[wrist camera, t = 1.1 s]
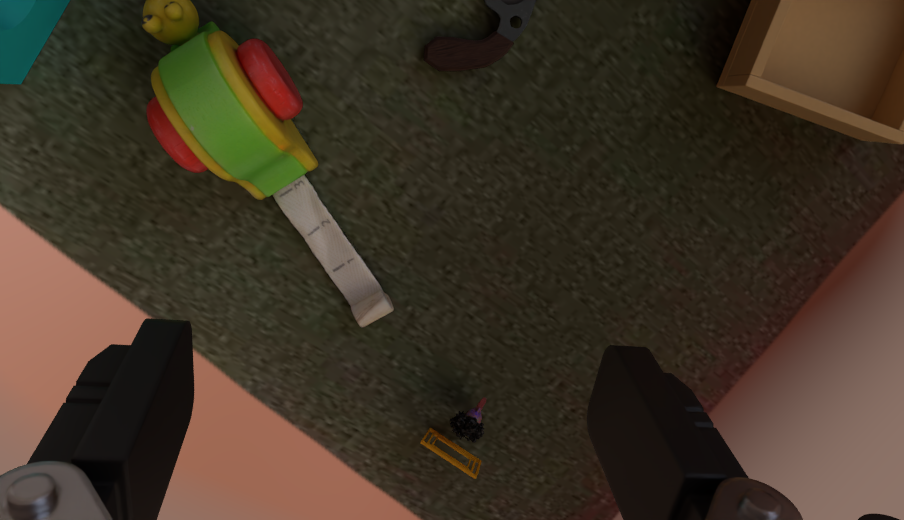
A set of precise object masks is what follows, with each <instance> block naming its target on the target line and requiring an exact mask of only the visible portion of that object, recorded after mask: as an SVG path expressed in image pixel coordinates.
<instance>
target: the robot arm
mask: <svg viewBox="0 0 904 520" xmlns="http://www.w3.org/2000/svg"><path fill="white" fill-rule="evenodd" d="M193 371H194V370H193V347H192V328H191V324H190V322H189V321H183V320H165V319H145V320H144V322H143V323H142V325H141V327H140V329H139V331H138V333H137V335H136V337H135V338H134V340H133V342H132V344H131V345H114V344H113V345H110V346H109V347H107V348H106V349H105V350H103V351H102V352H100V353H99V354H98V355H96V356H95V357H94V358H93V359H91V360H90V361H88V363H87V365H86V366H85V368H84V370H83V371H82V373H81V375H80V376H79V378H78V380H77V381H76V386H73V388H72V390H71V391H70V393H69V395H68V396H67V398H66V403H63V405H62V406H61V408H60V410H59V411H58V413H57V415H56V416H55V418H54V420H53V421H52V423H51V425H50V426H49V428H48V430H47V431H46V433H45V435H44V436H43V438H42V440H41V441H40V443H39V445H38V446H37V448H36V450H35V451H34V453H33V455H32V456H31V458H30V460H29V461H28V463H27V464H26V465H23V466H20V467H17V468H15V469H13V470H10V471H8V472H7V473H5V474H3V475H1V476H0V520H157V517H158V514H159V511H160V508H161V505H162V502H163V499H164V496H165V494H166V490H167V488H168V485H169V481H170V479H171V476H172V473H173V470H174V467H175V464H176V461H177V458H178V455H179V452H180V449H181V446H182V443H183V440H184V438H185V434H186V431H187V429H188V426H189V422H190V419H191V415H192V409H193V402H194V373H193ZM587 425H588V432H589V436H590V439H591V441H592V444H593V446H594V449H595V451H596V453H597V456H598V458H599V461H600V463H601V466H602V468H603V471H604V473H605V476H606V478H607V481H608V483H609V485H610V488H611V490H612V493H613V495H614V498H615V500H616V503H617V505H618V508H619V510H620V512H621V515H622V517H623V519H624V520H803V519H802V516H801V514H800V512H799V511H798V509H797V508H796V507H795V506H794V504H793V503H792V502H791V501H790V500H789V499H788V498H787V497H785V496H784V495H783V494H782V493H780V492H779V491H777V490H775V489H774V488H772V487H770V486H769V485H767V484H764V483H762V482H759V481H757V480H753V479H749V478H748V476H747V475H746V473H745V472H744V471H743V469H742V467H741V466H740V464H739V463H738V461H737V459H736V458H735V457H734V455H733V453H732V452H731V450H730V449H729V447H728V446H727V444H726V443H725V441H724V439H723V438H722V437H721V435H720V433H719V432H718V430H717V429H716V428H714V427H713V422H712V421H711V419H710V418H709V416H708V415H707V413H706V412H703V407H702V405H701V404H700V402H699V401H698V399H697V398H696V396H695V395H694V393H693V392H692V390H691V389H690V388H688V387H687V386H686V385H685V384H684V383H682V382H681V381H680V380H679V379H678V378H676V377H675V376H674V375H673V374H672V373H663V371H662V370H661V368H660V366H659V365H658V363H657V361H656V360H655V358H654V357H653V355H652V353H651V352H650V350H649V349H648V348H646V347H632V346H614V345H610V346H608V347H607V348H606V350H605V352H604V354H603V357H602V361H601V364H600V368H599V371H598V374H597V378H596V381H595V385H594V388H593V392H592V395H591V398H590V402H589V406H588V412H587ZM858 520H899V519H897V518H893V517H891V516H887V515H882V514H867V515H864V516H862V517H860V518H859V519H858Z"/></svg>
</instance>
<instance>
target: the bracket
mask: <svg viewBox="0 0 904 520" xmlns="http://www.w3.org/2000/svg"><path fill="white" fill-rule="evenodd" d="M69 2H70V0H0V84H21V83H22V82H23V80H24V78H25V77H26V75H27V73H28V71H29V70H30V68H31V66H32V65H33V63H34V61H35V60H36V58H37V56H38V54H39V53H40V51H41V49H42V48H43V46H44V44H45V43H46V41H47V39H48V37H49V36H50V34H51V32H52V31H53V29H54V27H55V25H56V24H57V22H58V20H59V19H60V17H61V15H62V14H63V12H64V10H65V8H66V7H67V5H68V3H69Z"/></svg>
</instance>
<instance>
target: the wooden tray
mask: <svg viewBox="0 0 904 520" xmlns="http://www.w3.org/2000/svg"><path fill="white" fill-rule="evenodd" d="M717 87H718V88H721V89H724V90H727V91H729V92H732V93H735V94H737V95H740V96H743V97H745V98H748V99H751V100H754V101H756V102H759V103H762V104H764V105H767V106H770V107H772V108H775V109H778V110H781V111H783V112H786V113H789V114H791V115H794V116H797V117H799V118H802V119H805V120H808V121H810V122H813V123H816V124H818V125H821V126H824V127H826V128H829V129H832V130H835V131H837V132H840V133H843V134H845V135H848V136H851V137H853V138H856V139H859V140H862V141H872V142H883V143H893V144H903V143H904V0H751V2H750V5H749V7H748V10H747V12H746V15H745V17H744V19H743V22H742V24H741V27H740V29H739V32H738V34H737V37H736V39H735V42H734V44H733V47H732V49H731V52H730V54H729V57H728V59H727V61H726V64H725V66H724V69H723V71H722V74H721V76H720V79H719V81H718V84H717Z"/></svg>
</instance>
